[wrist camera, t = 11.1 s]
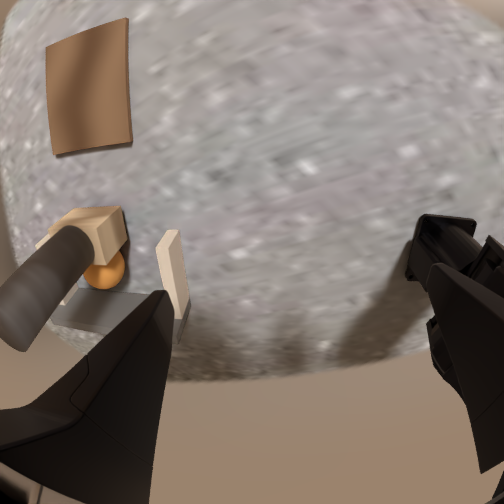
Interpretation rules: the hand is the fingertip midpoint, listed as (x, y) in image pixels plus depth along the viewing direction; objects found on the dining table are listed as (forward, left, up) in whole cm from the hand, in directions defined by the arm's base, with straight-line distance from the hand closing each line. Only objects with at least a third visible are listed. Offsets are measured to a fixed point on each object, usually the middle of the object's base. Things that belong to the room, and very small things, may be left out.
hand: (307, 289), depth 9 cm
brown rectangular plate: (+15, -7, -13) cm, 21 cm away
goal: (+15, +9, -13) cm, 22 cm away
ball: (+15, +7, -11) cm, 20 cm away
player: (+15, +4, -13) cm, 20 cm away
